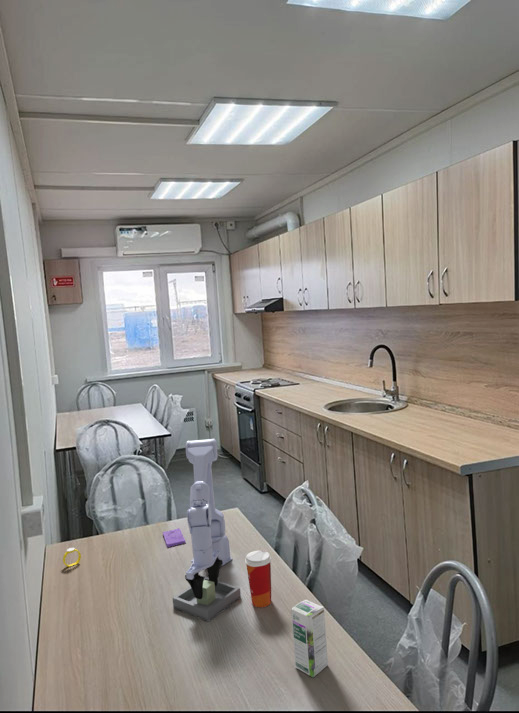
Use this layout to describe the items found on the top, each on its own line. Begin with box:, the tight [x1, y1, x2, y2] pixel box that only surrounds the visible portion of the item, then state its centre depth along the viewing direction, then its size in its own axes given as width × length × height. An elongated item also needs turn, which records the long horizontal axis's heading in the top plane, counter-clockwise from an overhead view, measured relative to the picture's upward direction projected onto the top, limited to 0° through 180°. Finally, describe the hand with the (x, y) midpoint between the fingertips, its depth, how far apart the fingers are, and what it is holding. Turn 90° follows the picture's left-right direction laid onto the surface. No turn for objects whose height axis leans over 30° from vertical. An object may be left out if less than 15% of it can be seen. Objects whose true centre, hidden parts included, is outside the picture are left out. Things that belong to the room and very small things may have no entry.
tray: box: [172, 576, 242, 622], centre depth 153 cm, size 14×14×3 cm
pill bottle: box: [244, 550, 272, 609], centre depth 151 cm, size 8×8×14 cm
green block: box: [196, 580, 216, 605], centre depth 154 cm, size 4×4×5 cm
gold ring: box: [62, 547, 82, 568], centre depth 185 cm, size 6×3×6 cm, turn 131°
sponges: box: [162, 527, 187, 548], centre depth 201 cm, size 7×13×2 cm, turn 18°
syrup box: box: [290, 599, 329, 678], centre depth 122 cm, size 6×6×14 cm
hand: (206, 591), depth 153 cm, fingers open, 7 cm apart
